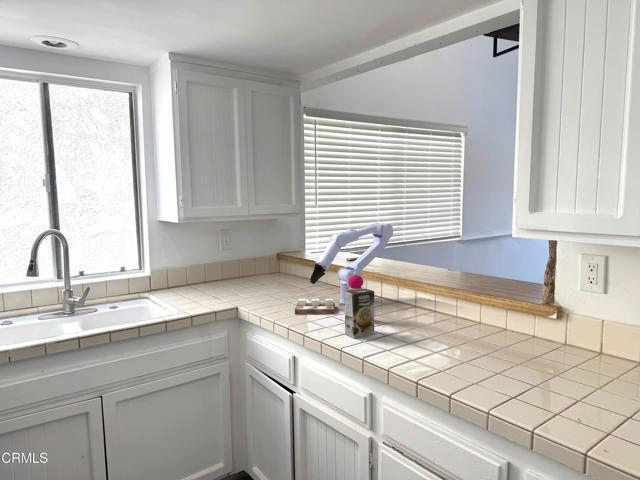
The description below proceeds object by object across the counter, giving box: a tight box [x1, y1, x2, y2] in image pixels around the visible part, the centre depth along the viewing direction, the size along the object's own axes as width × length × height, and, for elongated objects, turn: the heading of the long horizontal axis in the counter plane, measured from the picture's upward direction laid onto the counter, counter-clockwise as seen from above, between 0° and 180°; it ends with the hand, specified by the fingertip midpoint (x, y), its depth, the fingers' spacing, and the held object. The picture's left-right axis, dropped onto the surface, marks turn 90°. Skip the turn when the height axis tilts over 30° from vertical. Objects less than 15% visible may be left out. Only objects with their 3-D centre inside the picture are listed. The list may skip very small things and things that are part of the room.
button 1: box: [297, 298, 307, 306], centre depth 197 cm, size 3×3×3 cm
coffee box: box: [344, 288, 375, 339], centre depth 161 cm, size 9×6×16 cm
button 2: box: [324, 298, 334, 306], centre depth 196 cm, size 3×3×3 cm
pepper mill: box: [348, 272, 364, 290], centre depth 178 cm, size 7×7×20 cm
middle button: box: [311, 298, 320, 306], centre depth 196 cm, size 3×3×3 cm
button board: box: [294, 302, 336, 315], centre depth 195 cm, size 17×12×2 cm
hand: (311, 281), depth 198 cm, fingers open, 7 cm apart
